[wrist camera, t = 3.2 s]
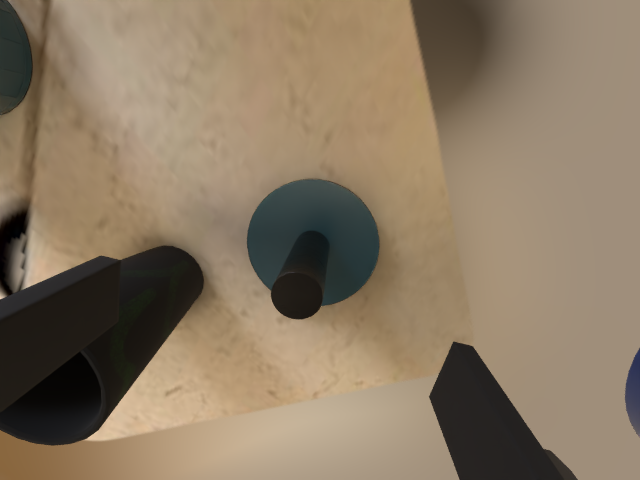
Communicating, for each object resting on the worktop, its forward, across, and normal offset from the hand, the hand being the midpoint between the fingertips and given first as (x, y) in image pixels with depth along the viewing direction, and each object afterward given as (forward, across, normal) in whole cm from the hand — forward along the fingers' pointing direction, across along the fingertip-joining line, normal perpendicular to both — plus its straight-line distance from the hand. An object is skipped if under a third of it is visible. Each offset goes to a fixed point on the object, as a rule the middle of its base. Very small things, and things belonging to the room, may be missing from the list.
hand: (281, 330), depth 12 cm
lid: (+12, 0, 0) cm, 12 cm away
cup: (+12, -11, -6) cm, 18 cm away
